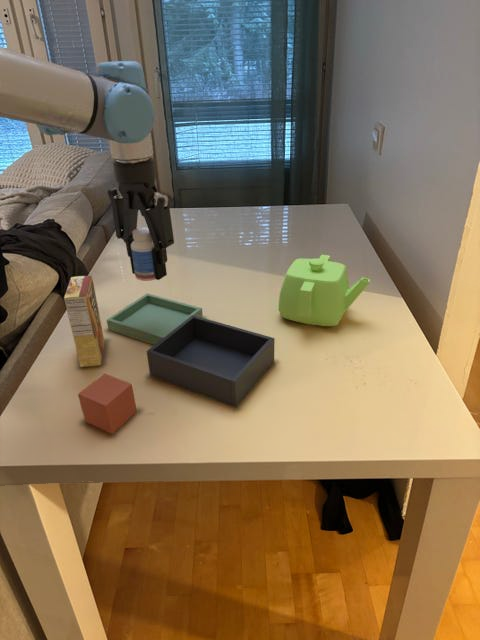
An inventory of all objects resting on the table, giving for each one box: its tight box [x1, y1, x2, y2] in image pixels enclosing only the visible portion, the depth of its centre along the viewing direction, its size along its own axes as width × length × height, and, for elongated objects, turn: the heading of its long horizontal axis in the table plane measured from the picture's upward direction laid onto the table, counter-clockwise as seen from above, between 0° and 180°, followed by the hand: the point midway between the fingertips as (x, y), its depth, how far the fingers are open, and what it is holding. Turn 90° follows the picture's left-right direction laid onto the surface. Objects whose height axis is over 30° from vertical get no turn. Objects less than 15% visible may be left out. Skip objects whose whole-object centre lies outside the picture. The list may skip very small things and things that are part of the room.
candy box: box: [63, 275, 106, 368], centre depth 89 cm, size 9×4×15 cm, turn 10°
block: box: [77, 373, 138, 435], centre depth 76 cm, size 6×6×6 cm
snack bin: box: [146, 315, 276, 408], centre depth 87 cm, size 19×15×6 cm
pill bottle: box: [131, 227, 156, 282], centre depth 94 cm, size 6×5×10 cm
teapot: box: [278, 254, 371, 327], centre depth 101 cm, size 18×20×13 cm
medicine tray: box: [106, 293, 204, 346], centre depth 102 cm, size 16×14×3 cm
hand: (149, 274), depth 96 cm, fingers closed on pill bottle, 5 cm apart
